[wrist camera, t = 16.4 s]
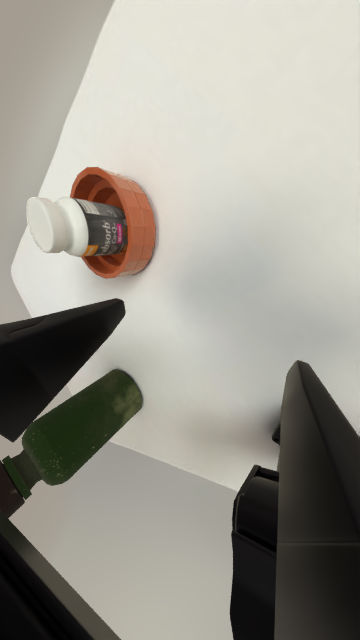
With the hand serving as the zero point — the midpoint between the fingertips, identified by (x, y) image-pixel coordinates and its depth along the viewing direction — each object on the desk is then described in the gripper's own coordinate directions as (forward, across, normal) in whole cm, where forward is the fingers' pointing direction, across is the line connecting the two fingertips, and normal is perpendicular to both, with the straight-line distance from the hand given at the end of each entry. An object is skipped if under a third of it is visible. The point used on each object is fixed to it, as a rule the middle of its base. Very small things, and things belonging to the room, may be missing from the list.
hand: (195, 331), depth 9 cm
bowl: (+15, +16, 0) cm, 22 cm away
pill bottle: (+14, +16, 0) cm, 22 cm away
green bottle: (+9, +16, +32) cm, 37 cm away
